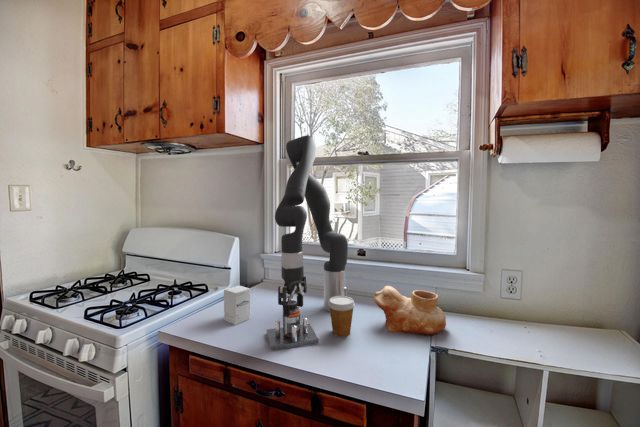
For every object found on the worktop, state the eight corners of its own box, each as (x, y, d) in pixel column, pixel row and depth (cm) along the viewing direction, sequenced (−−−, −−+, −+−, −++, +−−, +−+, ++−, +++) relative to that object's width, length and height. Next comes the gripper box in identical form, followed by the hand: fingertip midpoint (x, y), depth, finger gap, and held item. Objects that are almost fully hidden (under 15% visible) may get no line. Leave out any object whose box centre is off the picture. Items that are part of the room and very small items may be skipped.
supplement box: (235, 325, 109) (234, 293, 108) (223, 320, 114) (223, 289, 113) (250, 318, 115) (250, 288, 114) (239, 314, 119) (238, 284, 119)
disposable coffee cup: (340, 324, 110) (340, 293, 109) (360, 332, 103) (360, 300, 102) (322, 332, 103) (322, 300, 103) (342, 342, 96) (342, 307, 96)
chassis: (309, 327, 107) (309, 310, 107) (318, 343, 96) (318, 324, 95) (266, 333, 103) (266, 315, 102) (270, 350, 91) (270, 331, 91)
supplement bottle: (285, 329, 103) (285, 298, 102) (302, 330, 102) (301, 299, 101) (280, 337, 97) (280, 304, 96) (298, 338, 96) (297, 305, 95)
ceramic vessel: (373, 316, 117) (373, 280, 116) (441, 321, 112) (442, 284, 111) (373, 332, 103) (373, 292, 102) (450, 339, 98) (451, 296, 98)
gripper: (294, 259, 105) (295, 302, 106) (270, 268, 93) (272, 317, 94) (312, 261, 102) (313, 305, 103) (290, 271, 89) (291, 321, 90)
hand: (293, 310), depth 98 cm, fingers open, 8 cm apart
